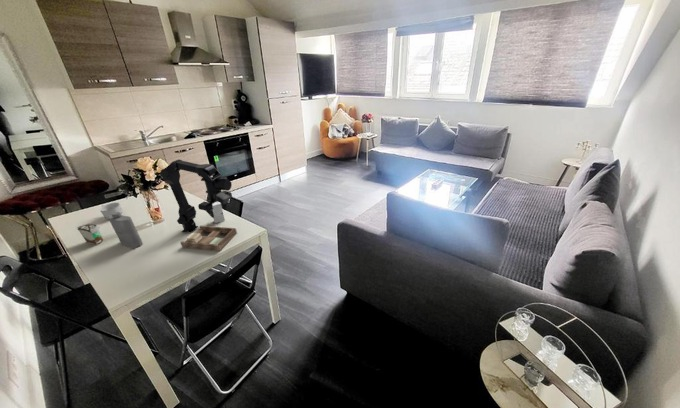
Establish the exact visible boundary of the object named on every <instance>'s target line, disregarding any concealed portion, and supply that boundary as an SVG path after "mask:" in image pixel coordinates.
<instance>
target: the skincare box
mask: <svg viewBox="0 0 680 408" xmlns="http://www.w3.org/2000/svg"><path fill="white" fill-rule="evenodd" d="M212 205H213V207H212V208H213V214H214V218H213V221H214V223H215V224H217V223H221V222H225V221H226V219H225V215H224V212H223V211H224V210H223V206H222V204H221V203H220V202H218V201H217V202H215V203H214V204H212Z"/></svg>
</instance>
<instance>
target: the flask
mask: <svg viewBox="0 0 680 408" xmlns="http://www.w3.org/2000/svg"><path fill="white" fill-rule="evenodd" d="M107 219H108V221H109V222H110V224H111V226H112V229H113V231H114V233H116V234H115V235H116V236H117V238H118V240H119V243H120V244H121V245H122V246H124V247H126V248H131V249H136V248H140V247H141V246H143V245H144V243H143V240H142V238H141V237H140V234H139V232H138V229H137V228H136V226H135V223H134V222H133V220H132V217H131V216H130V215H129V216H128V215H122V214H120V212H115V213H113V214H111V215H109V216H108V218H107Z"/></svg>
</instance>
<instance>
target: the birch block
mask: <svg viewBox="0 0 680 408" xmlns="http://www.w3.org/2000/svg"><path fill="white" fill-rule="evenodd" d="M200 239H202V236H201V234H200V233H196V232H191V233H190V235H188V236H187V237H186V240H187V241H188V242H195V243H197V242H198V241H199V240H200Z"/></svg>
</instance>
